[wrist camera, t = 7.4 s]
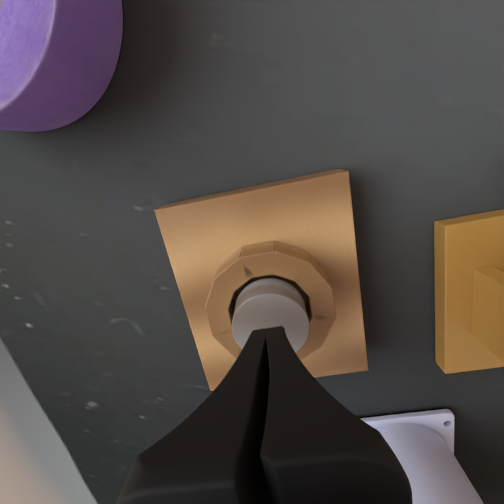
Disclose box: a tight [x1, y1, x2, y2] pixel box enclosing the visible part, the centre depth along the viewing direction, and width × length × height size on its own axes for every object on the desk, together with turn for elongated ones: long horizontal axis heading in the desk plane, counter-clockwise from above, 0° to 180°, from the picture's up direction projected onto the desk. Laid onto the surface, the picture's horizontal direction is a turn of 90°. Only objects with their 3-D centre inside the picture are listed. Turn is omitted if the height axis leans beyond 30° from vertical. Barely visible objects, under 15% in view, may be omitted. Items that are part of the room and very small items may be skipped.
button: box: [232, 278, 309, 353], centre depth 14 cm, size 4×4×2 cm
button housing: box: [155, 169, 368, 391], centre depth 17 cm, size 12×10×4 cm
